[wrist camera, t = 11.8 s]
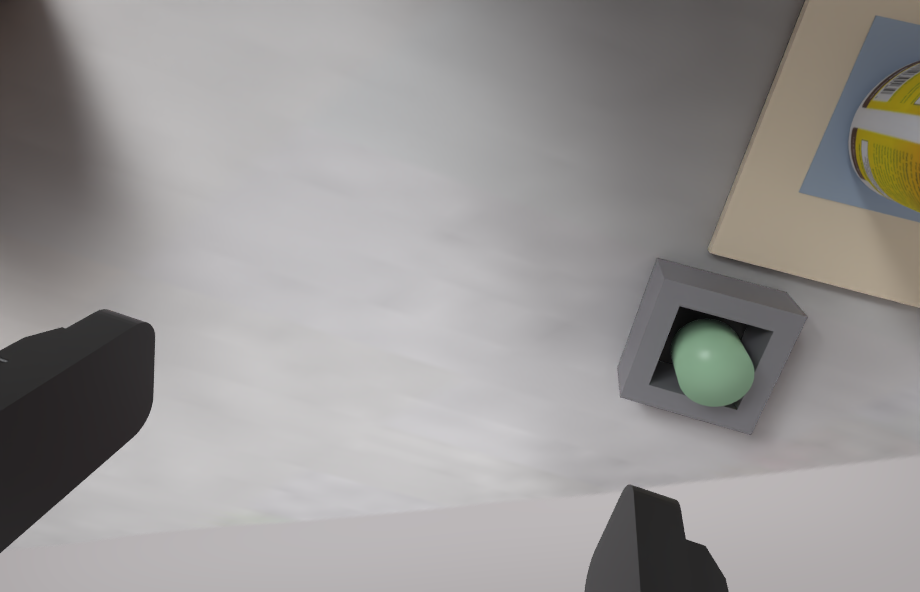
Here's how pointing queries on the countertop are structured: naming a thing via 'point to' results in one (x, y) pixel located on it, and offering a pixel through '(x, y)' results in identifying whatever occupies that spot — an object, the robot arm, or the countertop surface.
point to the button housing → (722, 296)
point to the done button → (711, 363)
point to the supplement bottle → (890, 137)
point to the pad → (826, 158)
